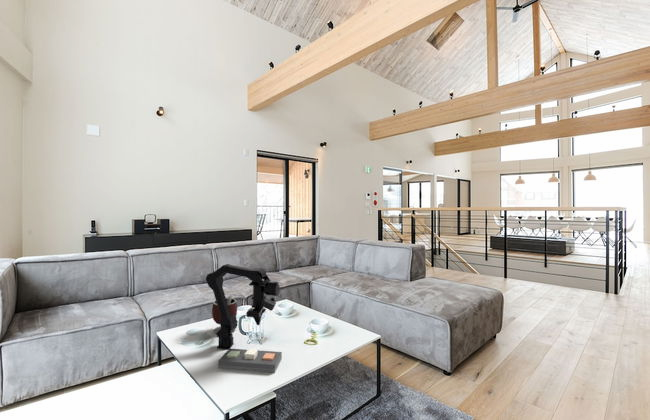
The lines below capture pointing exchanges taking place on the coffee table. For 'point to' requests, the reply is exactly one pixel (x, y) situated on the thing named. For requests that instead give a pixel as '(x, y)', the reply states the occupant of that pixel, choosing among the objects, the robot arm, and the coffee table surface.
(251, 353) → the ivory keycap
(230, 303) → the mate gourd
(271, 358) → the terracotta keycap
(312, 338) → the key
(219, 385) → the coffee table surface
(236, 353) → the sage keycap
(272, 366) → the grey flat rectangular block
